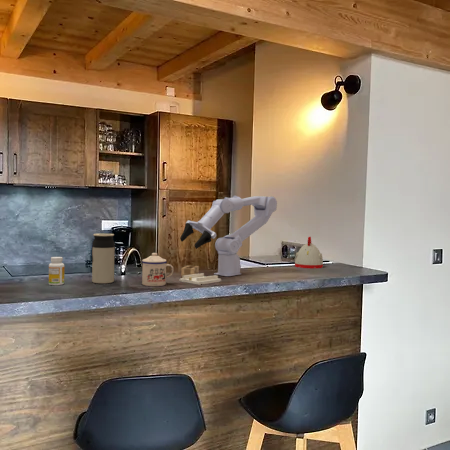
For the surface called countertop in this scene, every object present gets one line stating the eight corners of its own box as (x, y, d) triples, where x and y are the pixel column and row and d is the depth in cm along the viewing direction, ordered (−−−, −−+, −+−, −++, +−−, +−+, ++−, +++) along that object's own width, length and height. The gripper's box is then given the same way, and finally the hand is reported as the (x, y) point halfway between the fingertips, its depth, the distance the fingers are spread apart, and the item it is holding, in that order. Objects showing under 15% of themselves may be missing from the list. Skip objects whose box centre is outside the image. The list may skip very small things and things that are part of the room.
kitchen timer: (292, 267, 241) (293, 236, 241) (296, 264, 255) (297, 235, 254) (321, 269, 237) (322, 238, 237) (324, 265, 250) (325, 236, 250)
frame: (187, 275, 207) (187, 265, 207) (198, 275, 206) (198, 266, 206) (181, 278, 198) (181, 268, 198) (193, 278, 197) (193, 268, 197)
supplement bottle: (59, 282, 181) (59, 256, 180) (67, 284, 177) (67, 257, 177) (45, 284, 177) (45, 257, 176) (53, 285, 173) (54, 258, 173)
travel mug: (116, 280, 187) (117, 233, 187) (109, 284, 180) (110, 235, 179) (96, 280, 188) (97, 233, 187) (88, 283, 180) (89, 234, 180)
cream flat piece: (200, 278, 199) (200, 272, 199) (221, 281, 192) (221, 275, 192) (179, 281, 190) (179, 275, 190) (199, 284, 183) (199, 278, 183)
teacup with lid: (146, 287, 175) (146, 254, 175) (138, 283, 183) (138, 252, 183) (177, 285, 181) (178, 253, 180) (168, 281, 189) (168, 251, 188)
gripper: (193, 208, 203) (172, 230, 197) (220, 220, 196) (199, 244, 190) (197, 219, 209) (176, 241, 203) (224, 231, 201) (203, 255, 195)
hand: (188, 243), depth 197 cm, fingers open, 7 cm apart
